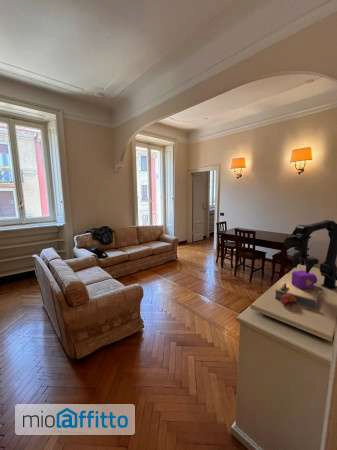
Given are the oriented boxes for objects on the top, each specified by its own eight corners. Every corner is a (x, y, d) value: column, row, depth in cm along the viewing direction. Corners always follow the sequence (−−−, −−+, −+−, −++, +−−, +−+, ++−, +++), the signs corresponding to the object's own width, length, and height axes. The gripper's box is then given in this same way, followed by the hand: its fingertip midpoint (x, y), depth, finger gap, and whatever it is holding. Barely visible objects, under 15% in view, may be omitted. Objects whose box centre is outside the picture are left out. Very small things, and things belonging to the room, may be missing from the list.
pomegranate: (298, 312, 110) (292, 294, 116) (300, 306, 105) (294, 288, 111) (283, 312, 112) (278, 294, 118) (284, 306, 107) (279, 288, 113)
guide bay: (284, 286, 134) (284, 279, 133) (320, 295, 121) (320, 287, 120) (275, 298, 120) (275, 290, 119) (314, 310, 107) (315, 301, 106)
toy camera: (320, 287, 131) (321, 272, 129) (303, 291, 127) (304, 276, 125) (304, 281, 141) (305, 267, 139) (289, 284, 137) (289, 270, 136)
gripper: (279, 243, 131) (279, 266, 134) (302, 251, 113) (301, 278, 115) (295, 242, 133) (294, 264, 135) (320, 249, 114) (318, 275, 117)
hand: (301, 270), depth 126 cm, fingers open, 9 cm apart
